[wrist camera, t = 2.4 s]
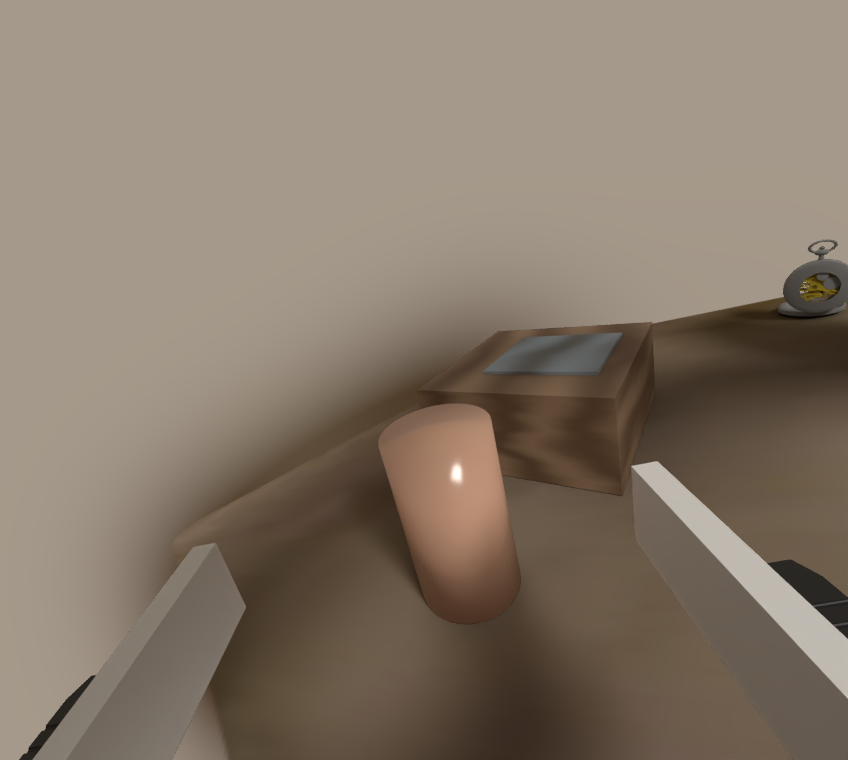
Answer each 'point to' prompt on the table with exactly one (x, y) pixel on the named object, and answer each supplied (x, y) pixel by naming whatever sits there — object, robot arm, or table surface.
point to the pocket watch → (816, 286)
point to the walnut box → (559, 400)
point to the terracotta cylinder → (453, 510)
